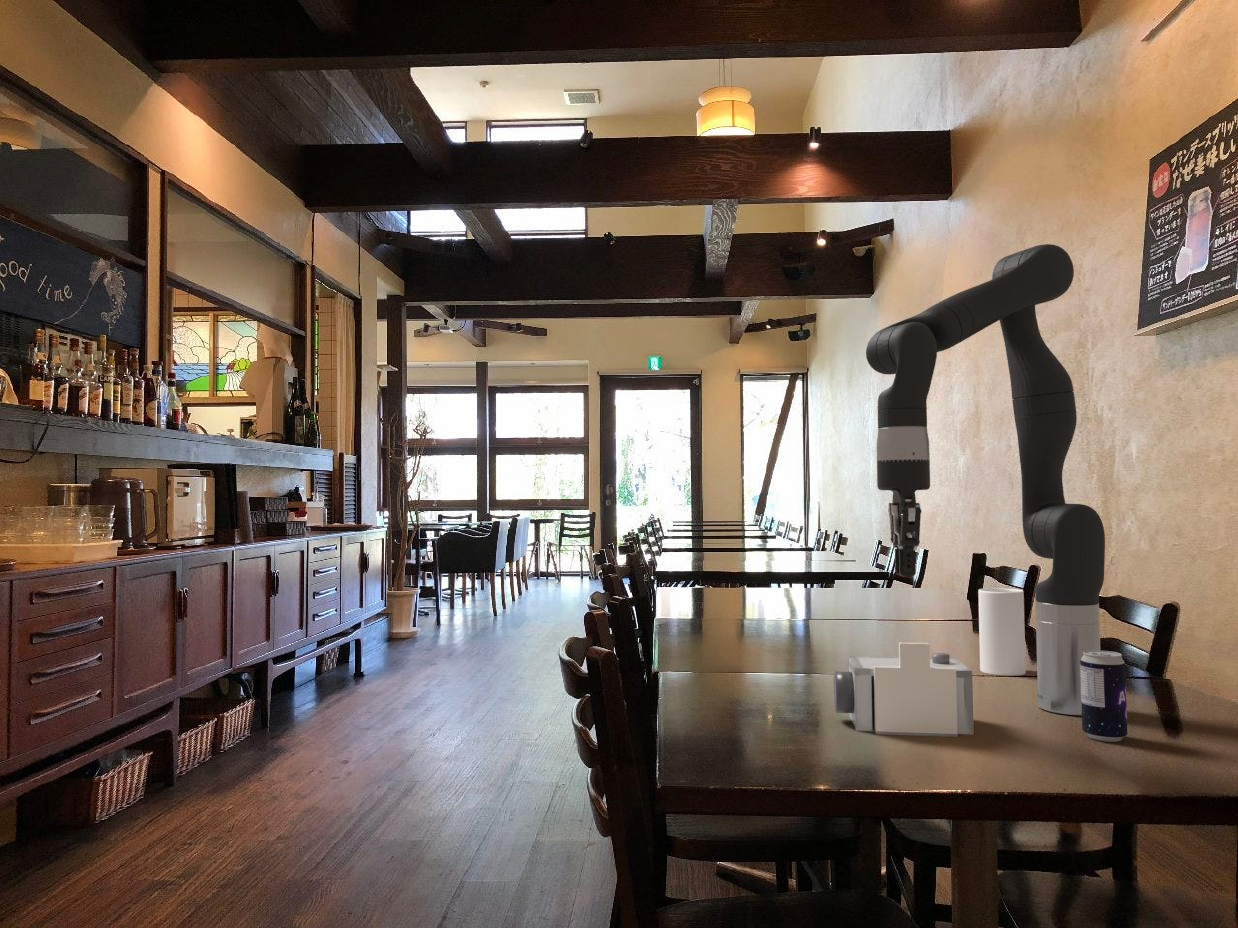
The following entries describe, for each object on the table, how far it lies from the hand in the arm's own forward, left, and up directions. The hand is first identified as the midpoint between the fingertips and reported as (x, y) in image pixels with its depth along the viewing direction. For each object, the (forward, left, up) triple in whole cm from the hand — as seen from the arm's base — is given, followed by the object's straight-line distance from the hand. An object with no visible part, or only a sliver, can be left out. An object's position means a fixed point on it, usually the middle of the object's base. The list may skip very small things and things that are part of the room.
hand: (905, 573), depth 130 cm
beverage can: (-27, 0, -23) cm, 36 cm away
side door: (0, +6, -22) cm, 23 cm away
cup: (-26, -48, -23) cm, 59 cm away
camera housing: (+1, 0, -23) cm, 23 cm away
